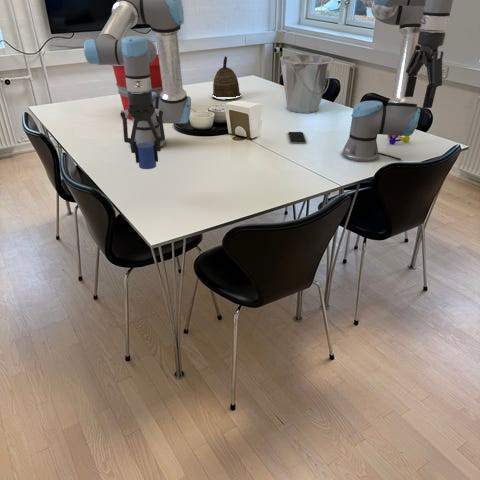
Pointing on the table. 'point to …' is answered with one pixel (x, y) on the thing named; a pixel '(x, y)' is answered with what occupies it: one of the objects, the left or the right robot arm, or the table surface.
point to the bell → (225, 82)
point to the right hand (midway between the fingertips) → (417, 102)
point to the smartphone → (296, 137)
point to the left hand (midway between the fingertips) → (147, 160)
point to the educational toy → (394, 140)
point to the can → (146, 155)
